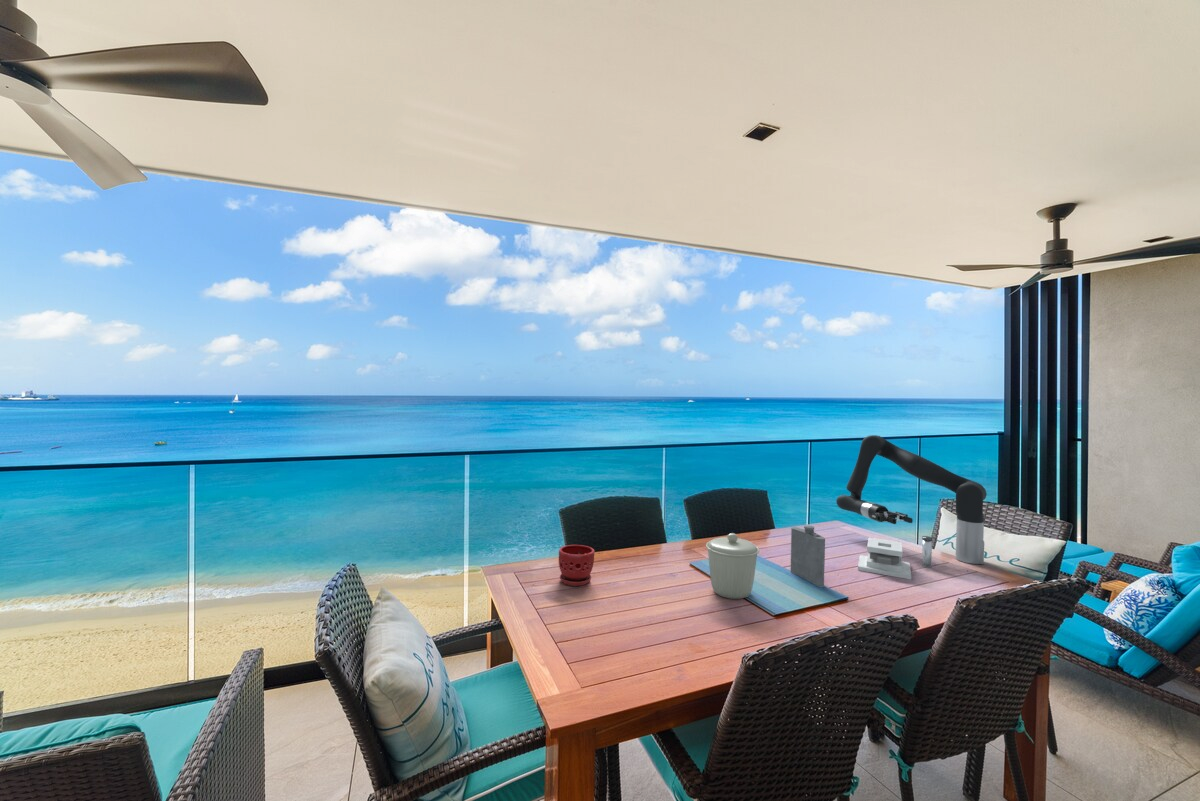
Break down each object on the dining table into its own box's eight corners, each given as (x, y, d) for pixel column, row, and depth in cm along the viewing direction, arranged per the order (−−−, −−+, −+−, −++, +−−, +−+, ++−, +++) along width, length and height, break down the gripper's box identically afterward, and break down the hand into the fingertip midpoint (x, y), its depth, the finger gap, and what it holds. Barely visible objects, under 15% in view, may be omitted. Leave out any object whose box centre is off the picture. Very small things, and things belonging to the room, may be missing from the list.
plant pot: (589, 589, 174) (590, 556, 174) (554, 586, 177) (554, 553, 176) (597, 576, 187) (597, 544, 187) (563, 573, 189) (564, 542, 189)
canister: (721, 607, 162) (722, 543, 161) (696, 585, 179) (697, 528, 178) (769, 601, 166) (770, 539, 166) (740, 580, 184) (741, 524, 183)
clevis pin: (931, 565, 202) (932, 536, 202) (932, 568, 199) (933, 539, 198) (921, 564, 204) (921, 535, 203) (921, 566, 201) (922, 537, 200)
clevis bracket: (909, 566, 201) (910, 543, 201) (911, 580, 186) (911, 555, 186) (859, 558, 210) (860, 536, 210) (857, 570, 195) (858, 547, 195)
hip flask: (788, 571, 194) (789, 521, 193) (796, 570, 195) (798, 520, 195) (819, 587, 179) (820, 532, 178) (827, 585, 180) (829, 531, 180)
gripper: (861, 504, 226) (890, 513, 210) (887, 502, 229) (917, 512, 213) (860, 520, 226) (889, 530, 210) (886, 518, 229) (916, 529, 214)
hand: (903, 521), depth 212 cm, fingers open, 8 cm apart
